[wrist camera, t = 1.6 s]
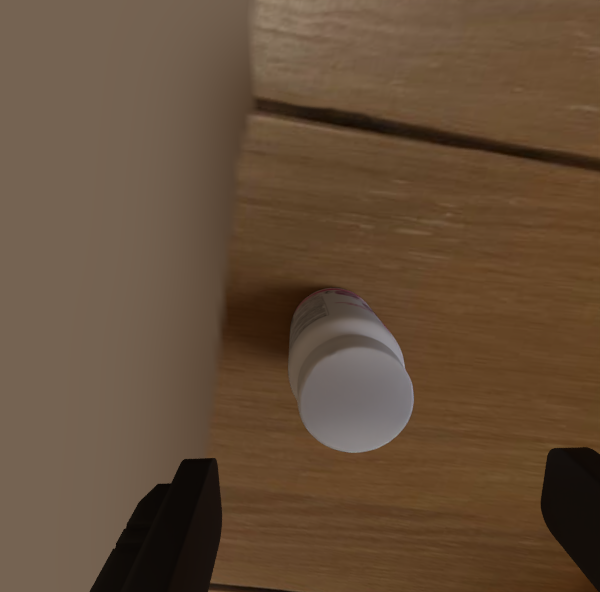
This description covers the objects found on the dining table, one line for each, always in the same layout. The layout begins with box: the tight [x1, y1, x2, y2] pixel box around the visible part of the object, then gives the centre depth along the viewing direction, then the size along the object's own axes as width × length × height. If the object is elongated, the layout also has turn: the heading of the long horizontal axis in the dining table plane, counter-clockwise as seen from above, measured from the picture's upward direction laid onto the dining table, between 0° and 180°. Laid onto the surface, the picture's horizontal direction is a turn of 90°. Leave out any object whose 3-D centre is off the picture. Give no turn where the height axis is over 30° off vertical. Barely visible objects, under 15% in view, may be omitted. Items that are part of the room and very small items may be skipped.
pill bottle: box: [288, 288, 414, 453], centre depth 16 cm, size 5×5×8 cm
